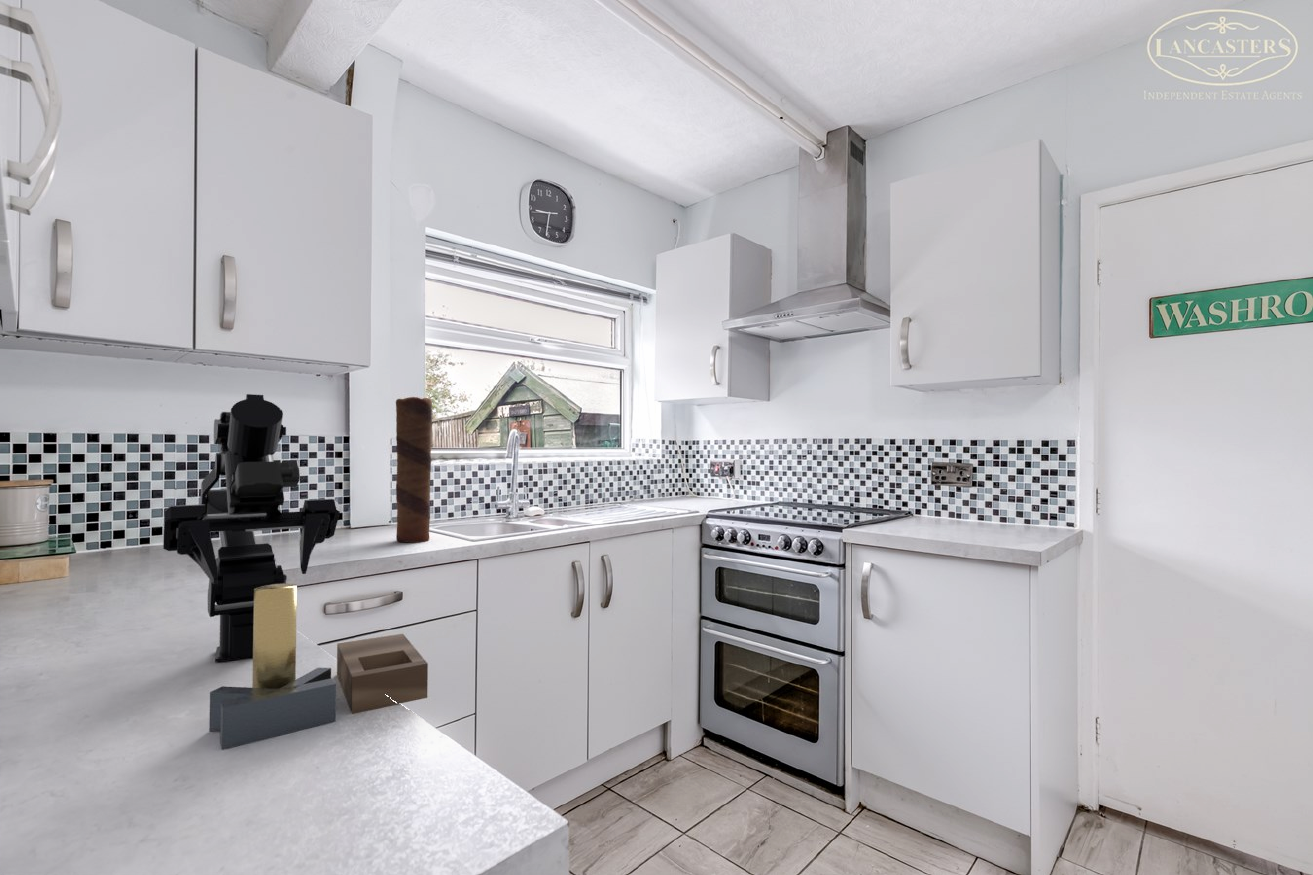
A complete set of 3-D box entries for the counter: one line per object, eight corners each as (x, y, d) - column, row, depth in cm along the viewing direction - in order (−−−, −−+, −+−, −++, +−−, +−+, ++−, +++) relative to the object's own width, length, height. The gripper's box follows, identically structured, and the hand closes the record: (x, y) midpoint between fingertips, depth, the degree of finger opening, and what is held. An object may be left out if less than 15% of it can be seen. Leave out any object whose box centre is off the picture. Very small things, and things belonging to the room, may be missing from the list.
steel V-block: (208, 727, 65) (209, 688, 65) (328, 699, 72) (328, 665, 72) (213, 751, 60) (214, 709, 60) (342, 719, 67) (342, 682, 67)
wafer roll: (416, 544, 189) (418, 396, 190) (388, 542, 192) (389, 396, 193) (438, 539, 199) (439, 398, 200) (410, 537, 202) (412, 399, 203)
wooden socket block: (336, 674, 80) (337, 643, 80) (402, 663, 85) (402, 633, 85) (352, 713, 69) (352, 676, 69) (427, 697, 73) (427, 663, 73)
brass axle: (261, 710, 69) (263, 584, 70) (300, 707, 70) (302, 582, 70) (245, 726, 65) (247, 592, 66) (286, 722, 66) (288, 590, 66)
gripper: (165, 438, 74) (165, 542, 65) (337, 440, 86) (357, 528, 77) (163, 500, 80) (163, 602, 71) (324, 493, 92) (341, 581, 83)
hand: (261, 576), depth 76 cm, fingers open, 9 cm apart
